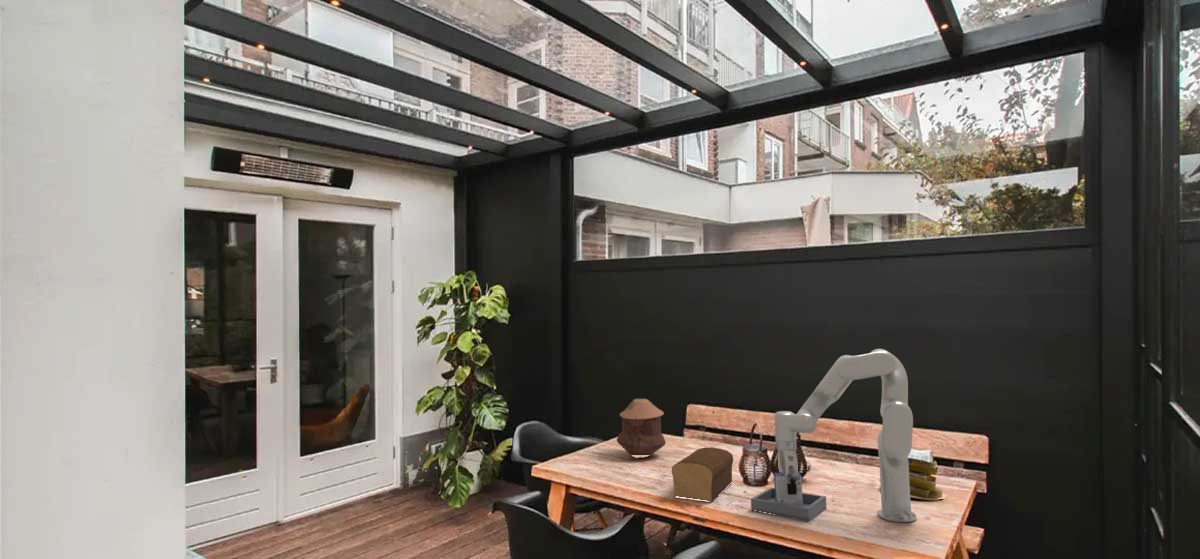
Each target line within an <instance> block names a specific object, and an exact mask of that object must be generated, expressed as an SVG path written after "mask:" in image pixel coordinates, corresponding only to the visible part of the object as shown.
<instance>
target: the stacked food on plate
mask: <svg viewBox="0 0 1200 559" xmlns="http://www.w3.org/2000/svg"><path fill="white" fill-rule="evenodd" d="M908 464H909V483H910V498H915V499H920V500H925V501H927V500H928V501H939V500H938V498H941V497H942V494H943V492H942V491H945V490H944V489H942V488H941V487H939V486H937V477H936V474H937V473H938V470H939V467H938V464H937V461H936V460H934V454H933V451H932V450H931V449H925V450H921V449H915V448H911V452H910V454H909V455H908ZM933 475H934V476H933Z"/></svg>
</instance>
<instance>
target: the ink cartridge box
mask: <svg viewBox="0 0 1200 559" xmlns="http://www.w3.org/2000/svg"><path fill="white" fill-rule="evenodd" d="M790 479H791V478H790ZM773 481H774V482H773V484H774V488H775V502H778V503H784V504H789V505H795V506H800V507H803V496H802V493H803V476H802V474H800V473H798V477H796V487H797V494H794V495H789V494H788V488H787V483H788V480H787V477H785V476H784V475H783V474H781V473H779V472H773Z"/></svg>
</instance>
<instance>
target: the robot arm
mask: <svg viewBox="0 0 1200 559" xmlns="http://www.w3.org/2000/svg"><path fill="white" fill-rule="evenodd" d="M876 377H880V378H881V401H880V411H879V412H880V416H881V418H882V429H881V430H880V432H879V433H878V435H877V449H878V461H879V483H880V485H879V486H880V502H881V503H880V504H881V508H880V509H878V510H877V511H876V512H877V516H878V517H879V518H880V519H882V520H884V521H889V522H894V523H911V522H914V521H916V520H917V514H915V513H914V512H913V511H912V503H911V497H910V483H909V464H908V455H909V454H910V452H911V449H912V445H913V431H914V430H913V429H914V428H913V427H914V416H913V415H914V414H913V412H912V409H911V407H909V403H908V402H909V399H908V398H909V390H908V389H909V381H908V374H907V372H906V369H905V367H904V365H903V363H902V362H901V361H900V360H899V358H897V357H896V356H895V355H894V354H892V353H891V352H890V351H888V350H886V349H883V348H876V349H873V350H871V351H870V352H869V353H864V354H859V355H850V354H849V355H848V354H845V355H841V356H840V357H838V358H837V359H836V361H835V362H834V364H833V365H832V366H831V367H830V369H829V370H828V371H827V373H826V374H825V376H824V377H823V379H822V380H820V382H819V384H818V385H817V386H816V388H815V389H814V391H813V392H812V393H811V394H810V396H809V397H808V398H807V399H806V401H805V402H804V403H803V404H802V406H801V407H800V409H799V410H798V412H797V413H794V412H792V411H790V410H789V411H787V410H781V411H780V410H779V411H776V412H775V414H774V433H775V434H774V435H775V436H774V437H775V448H776V450H777V460H778V469H779V470H778V469H777V470H778V473H781V474H783V475H784V476H785V477H787V480H788V483H787V488H788V494H789V495H794V494H797V487H796V477H798V465H797V459H798V458H797V452H796V450H797V433H800V434H801V433H802V434H811V433H813V432H814V431H815V430H816V428H817V425H818V421H819V419H820V417H821V416H823V414H824V413H825V411H826V410H827V409H828V408H829V407H830V406H831V405H833V404H834V403H835V402H837V401H838V400H839V399H840V398H841V396H842V395H843V394H844V392H845V391H846V389H847V388H848V387H849V386H850V384H851V383H852V382H853V381H855V380H864V379H869V378H876ZM790 478H791V479H790Z"/></svg>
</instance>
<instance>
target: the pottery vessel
mask: <svg viewBox="0 0 1200 559" xmlns="http://www.w3.org/2000/svg"><path fill="white" fill-rule="evenodd" d="M663 415H664V411H663V410H661V409H660V408H658V407H657V406H656V405H655V404H653V402H651V401H650V400H649V399H647V398H634V399H632V401H631V402H630V403H629V404H628V406H627V407H626V408H625V409H624V410H623V411H621V412H620V413H619V417H621V420H622V421H621V426H622V428H621V429H622V431H621V432H620V433H619V435H618V436H617V438H616V442H617V444H619V445H620V446H621V447H622V448H623V449H624V450H625V451H626V453H628V454H630V455H631V454H632V455H650V454H651V455H653V454H654V453H657V451H659V450H660V449H662V448H663V447H664V446H665V445H666V439H665V437H664V434H663V433H662V421H661V420H662V418H661V417H663ZM651 455H650V456H651Z"/></svg>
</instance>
